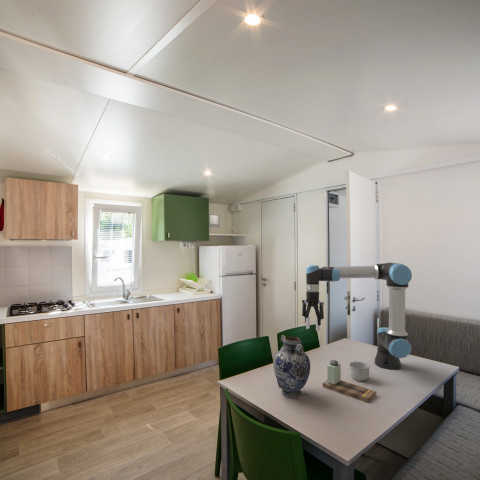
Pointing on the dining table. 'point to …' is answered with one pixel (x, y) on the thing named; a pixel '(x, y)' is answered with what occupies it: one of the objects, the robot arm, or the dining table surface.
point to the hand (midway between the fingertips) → (312, 329)
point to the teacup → (359, 370)
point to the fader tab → (334, 372)
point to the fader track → (351, 390)
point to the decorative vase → (291, 367)
